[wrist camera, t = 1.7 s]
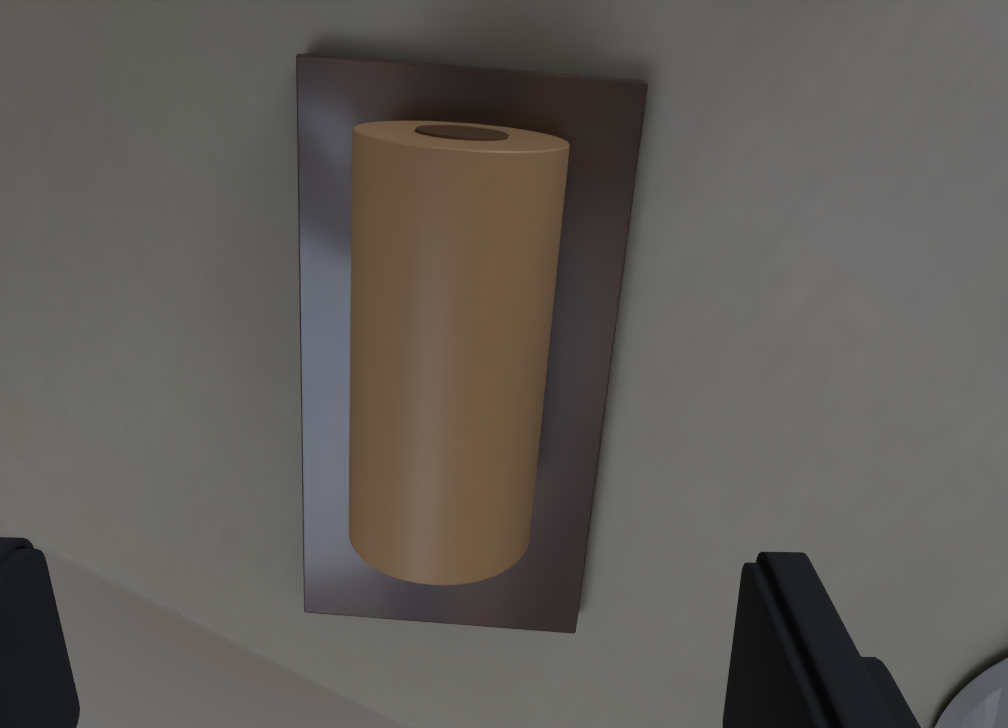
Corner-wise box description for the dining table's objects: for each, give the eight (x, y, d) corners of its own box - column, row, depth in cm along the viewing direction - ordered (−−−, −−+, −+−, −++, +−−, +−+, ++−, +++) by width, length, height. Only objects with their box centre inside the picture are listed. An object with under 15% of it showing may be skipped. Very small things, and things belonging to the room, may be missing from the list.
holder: (310, 595, 32) (303, 612, 31) (304, 53, 25) (295, 53, 24) (574, 616, 32) (575, 634, 31) (643, 80, 25) (648, 82, 24)
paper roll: (366, 479, 29) (330, 577, 24) (372, 112, 24) (330, 134, 19) (529, 492, 29) (530, 593, 24) (565, 128, 24) (576, 154, 19)
